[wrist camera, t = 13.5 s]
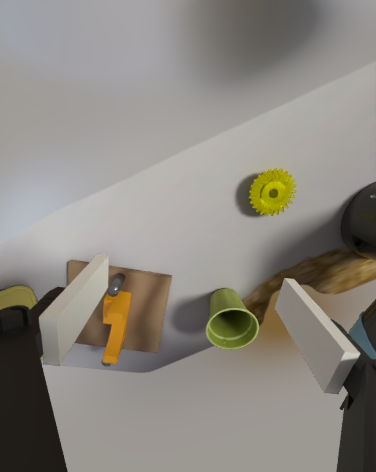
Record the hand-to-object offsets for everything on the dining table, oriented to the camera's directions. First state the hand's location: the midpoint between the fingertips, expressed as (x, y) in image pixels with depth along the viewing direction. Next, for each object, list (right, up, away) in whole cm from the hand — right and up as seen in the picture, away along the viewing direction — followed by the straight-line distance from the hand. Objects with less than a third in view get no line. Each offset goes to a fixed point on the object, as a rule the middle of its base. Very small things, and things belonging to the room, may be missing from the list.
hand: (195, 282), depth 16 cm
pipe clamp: (-15, -13, +30) cm, 36 cm away
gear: (+14, +12, +23) cm, 29 cm away
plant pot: (+7, -10, +31) cm, 33 cm away
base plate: (-16, -12, +31) cm, 36 cm away
